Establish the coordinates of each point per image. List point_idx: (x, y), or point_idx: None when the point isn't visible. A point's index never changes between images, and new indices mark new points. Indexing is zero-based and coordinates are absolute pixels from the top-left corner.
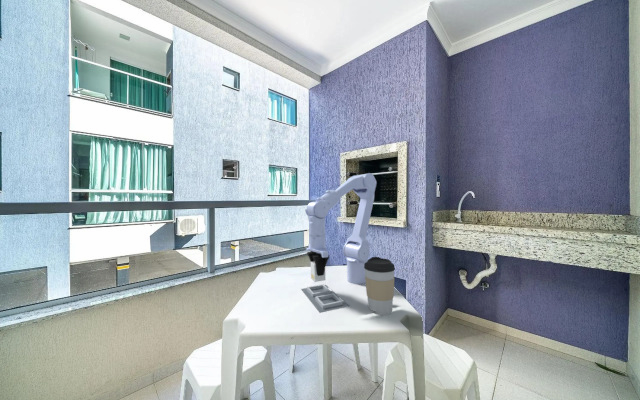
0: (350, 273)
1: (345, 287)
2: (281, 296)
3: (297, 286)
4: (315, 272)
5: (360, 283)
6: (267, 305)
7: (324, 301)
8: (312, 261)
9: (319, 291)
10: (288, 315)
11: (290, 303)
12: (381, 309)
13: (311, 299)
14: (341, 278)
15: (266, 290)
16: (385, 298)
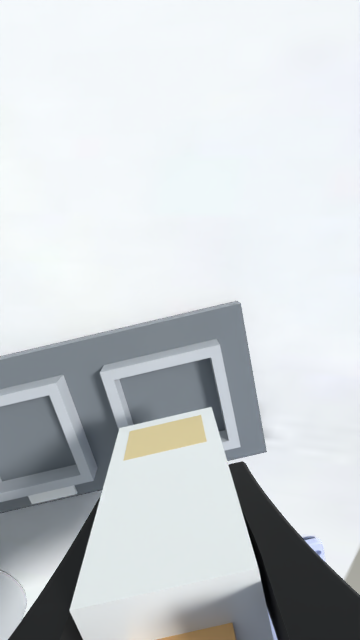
0: (275, 635)
1: None
2: (182, 168)
3: (320, 283)
4: (103, 502)
5: None
6: (54, 64)
7: (37, 418)
8: (258, 593)
9: (175, 408)
10: None
11: (69, 229)
12: None
13: (71, 355)
14: (355, 531)
15: (318, 38)
16: None
